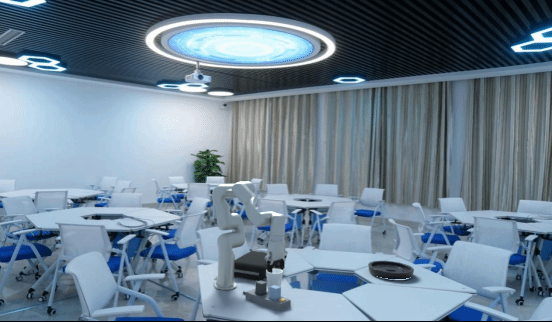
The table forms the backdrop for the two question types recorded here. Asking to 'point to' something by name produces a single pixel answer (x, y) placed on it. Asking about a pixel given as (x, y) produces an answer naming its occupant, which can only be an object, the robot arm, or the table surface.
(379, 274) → the round tray
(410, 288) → the table surface
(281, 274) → the foam cup
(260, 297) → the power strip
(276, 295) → the block
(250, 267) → the briefcase
